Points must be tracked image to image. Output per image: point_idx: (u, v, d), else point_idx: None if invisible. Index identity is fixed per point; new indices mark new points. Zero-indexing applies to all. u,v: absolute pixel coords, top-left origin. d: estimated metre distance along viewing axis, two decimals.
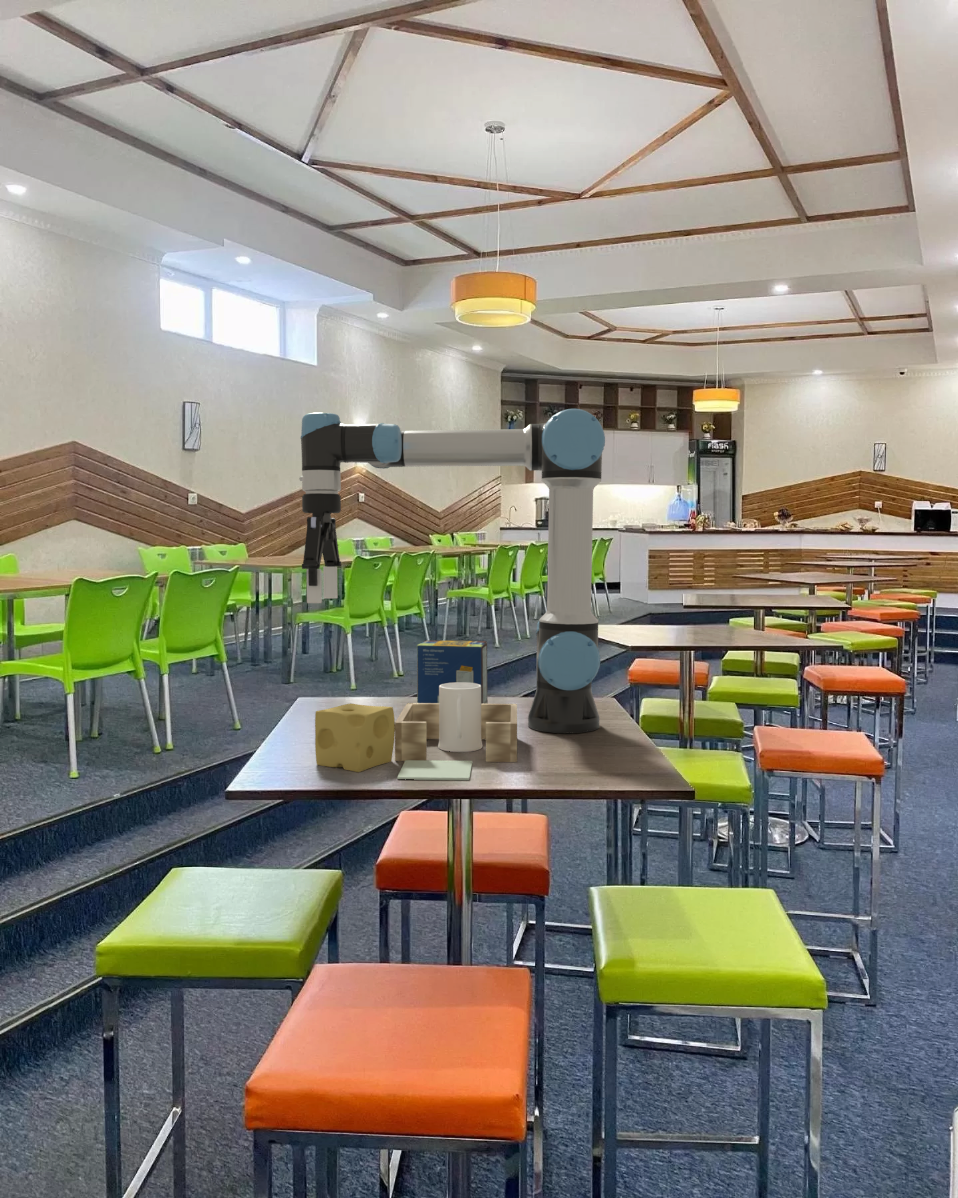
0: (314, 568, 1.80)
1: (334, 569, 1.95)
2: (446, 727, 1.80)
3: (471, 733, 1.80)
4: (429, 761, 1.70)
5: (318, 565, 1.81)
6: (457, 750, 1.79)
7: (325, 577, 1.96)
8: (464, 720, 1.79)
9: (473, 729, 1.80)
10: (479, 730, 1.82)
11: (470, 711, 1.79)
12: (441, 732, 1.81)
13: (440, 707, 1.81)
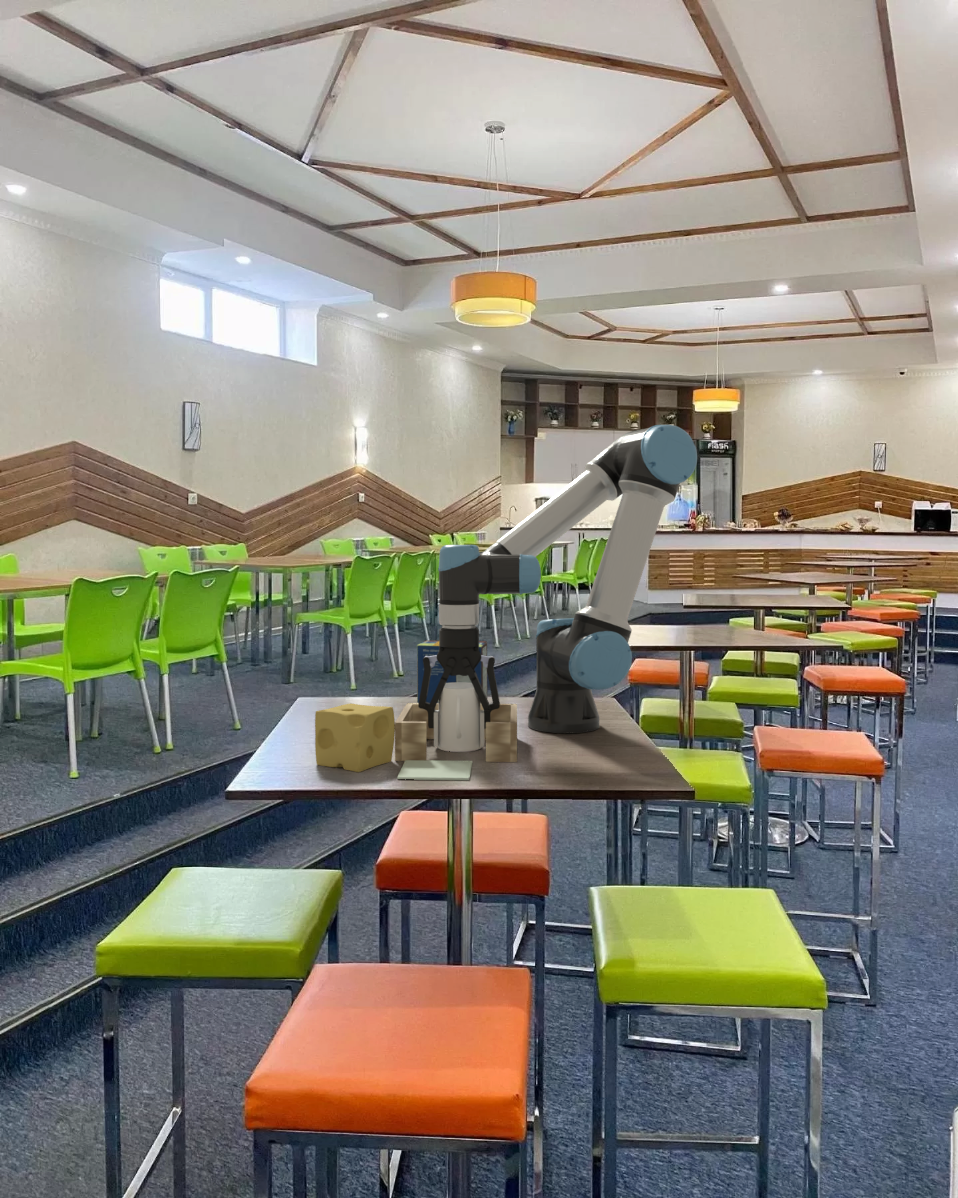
0: (427, 710, 1.81)
1: (480, 715, 1.80)
2: (445, 727, 1.80)
3: (471, 733, 1.80)
4: (429, 761, 1.70)
5: (428, 709, 1.80)
6: (456, 750, 1.79)
7: None
8: (463, 720, 1.79)
9: (472, 729, 1.80)
10: (478, 730, 1.82)
11: (469, 711, 1.79)
12: (440, 732, 1.81)
13: (439, 707, 1.81)
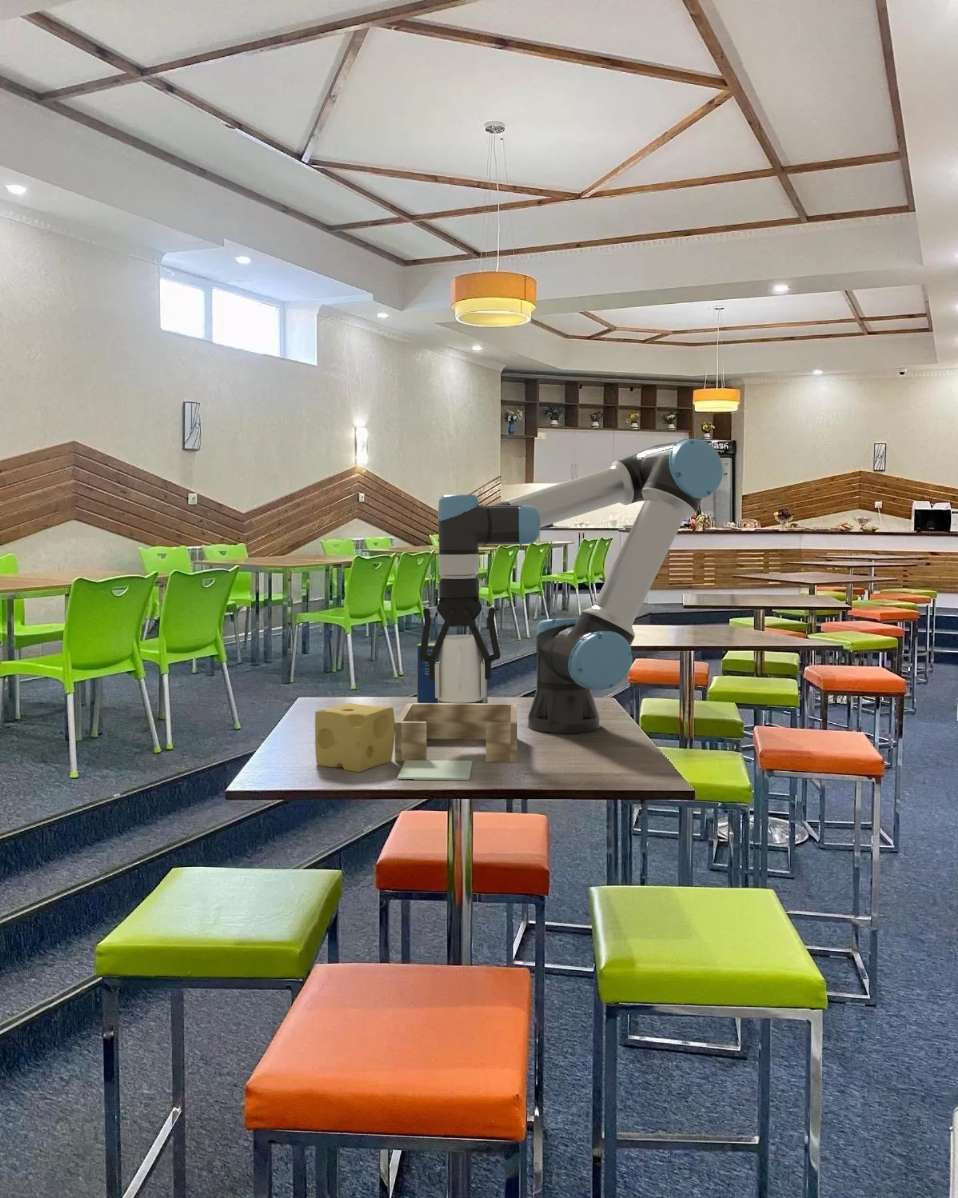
0: (428, 662, 1.80)
1: None
2: (446, 678, 1.79)
3: (472, 684, 1.79)
4: (429, 761, 1.70)
5: (429, 660, 1.80)
6: (457, 701, 1.79)
7: None
8: (464, 670, 1.78)
9: (473, 679, 1.79)
10: (479, 681, 1.81)
11: (470, 661, 1.79)
12: (441, 683, 1.81)
13: (440, 658, 1.81)
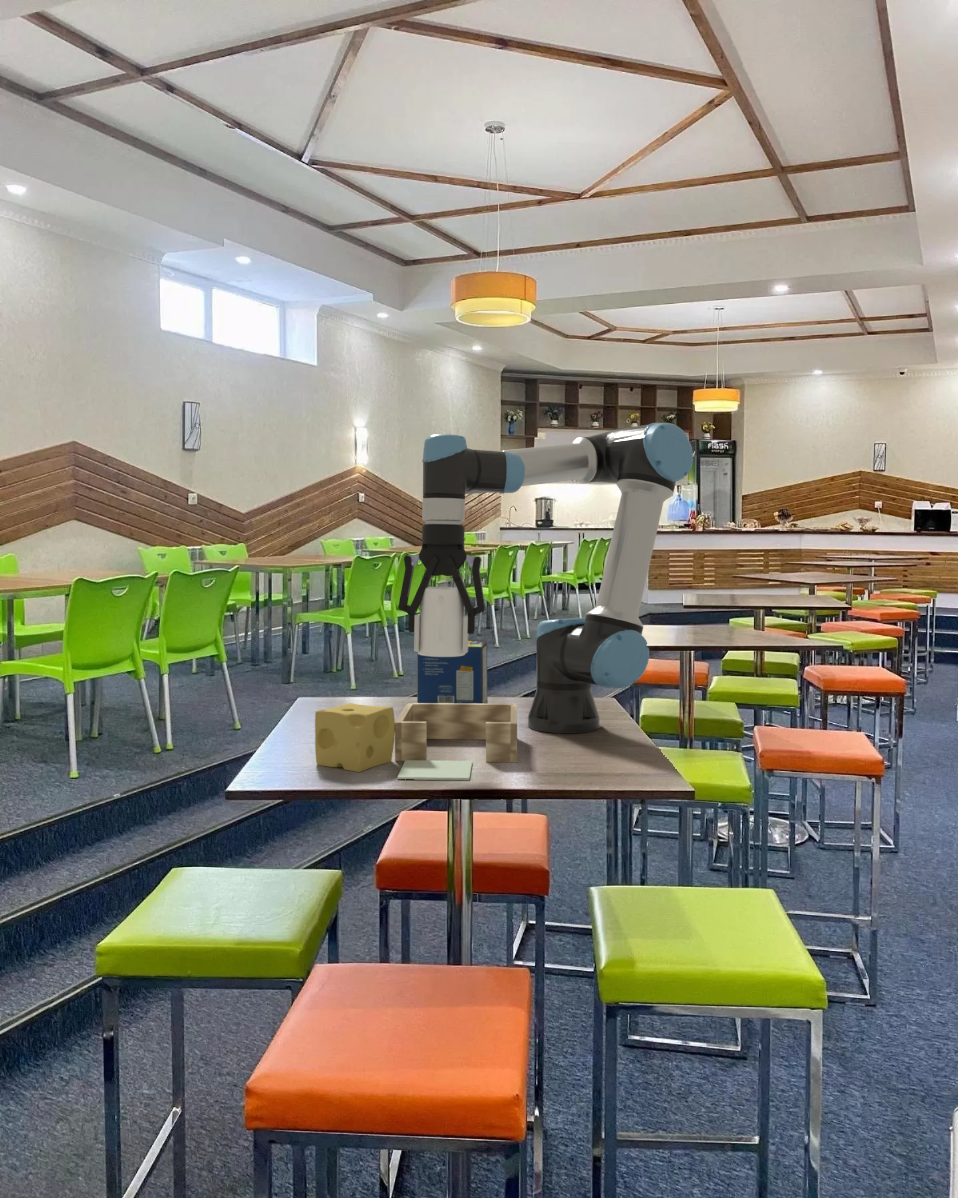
0: None
1: None
2: (426, 630, 1.68)
3: (453, 637, 1.68)
4: (429, 761, 1.70)
5: (409, 611, 1.69)
6: (437, 654, 1.67)
7: None
8: (445, 622, 1.67)
9: (455, 633, 1.68)
10: (462, 635, 1.70)
11: (452, 613, 1.68)
12: (421, 636, 1.70)
13: (421, 610, 1.70)
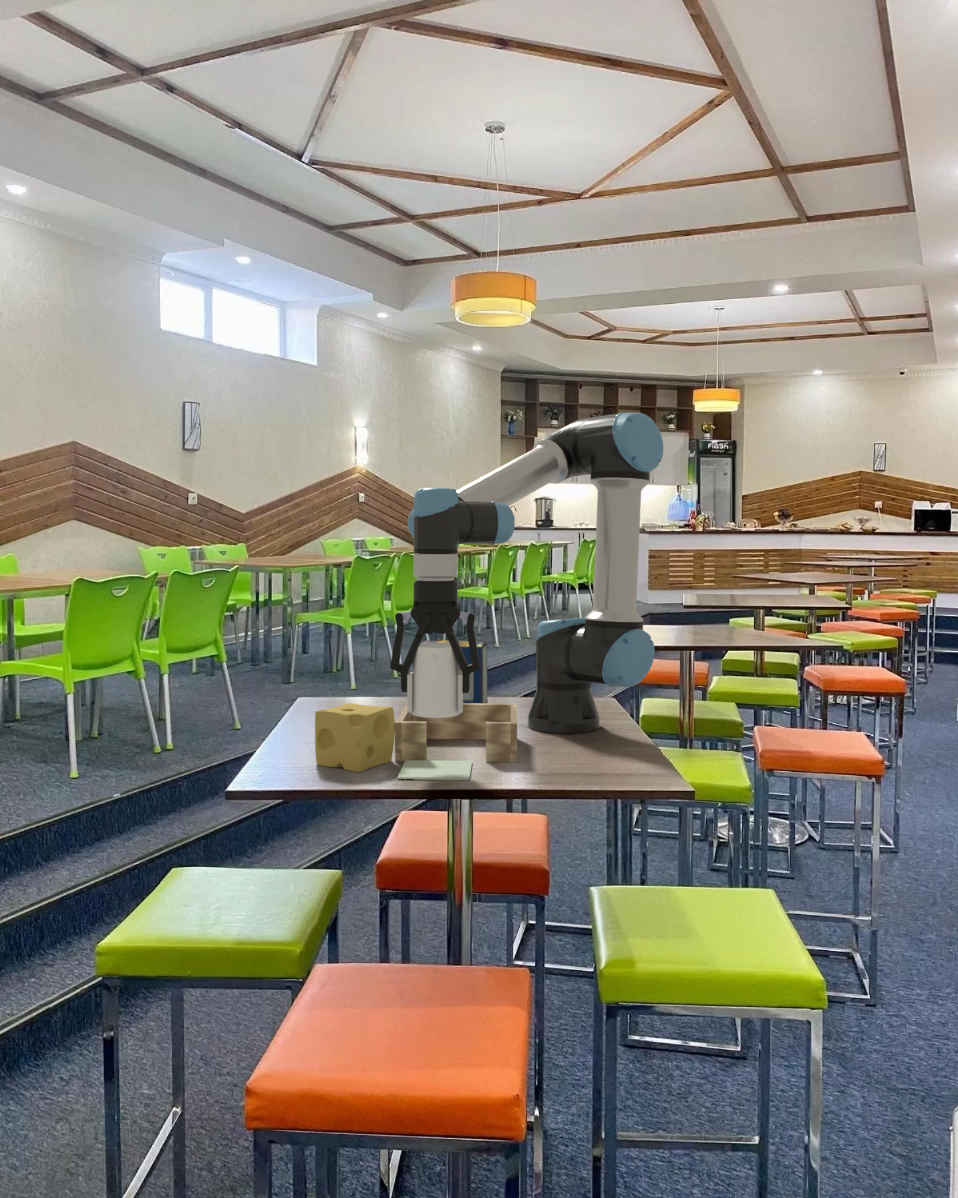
0: (400, 672, 1.63)
1: (458, 678, 1.63)
2: (420, 690, 1.62)
3: (448, 697, 1.62)
4: (429, 761, 1.70)
5: (401, 670, 1.63)
6: (431, 715, 1.62)
7: None
8: (439, 682, 1.62)
9: (449, 692, 1.62)
10: (456, 694, 1.64)
11: (446, 672, 1.62)
12: (414, 696, 1.64)
13: (413, 668, 1.64)
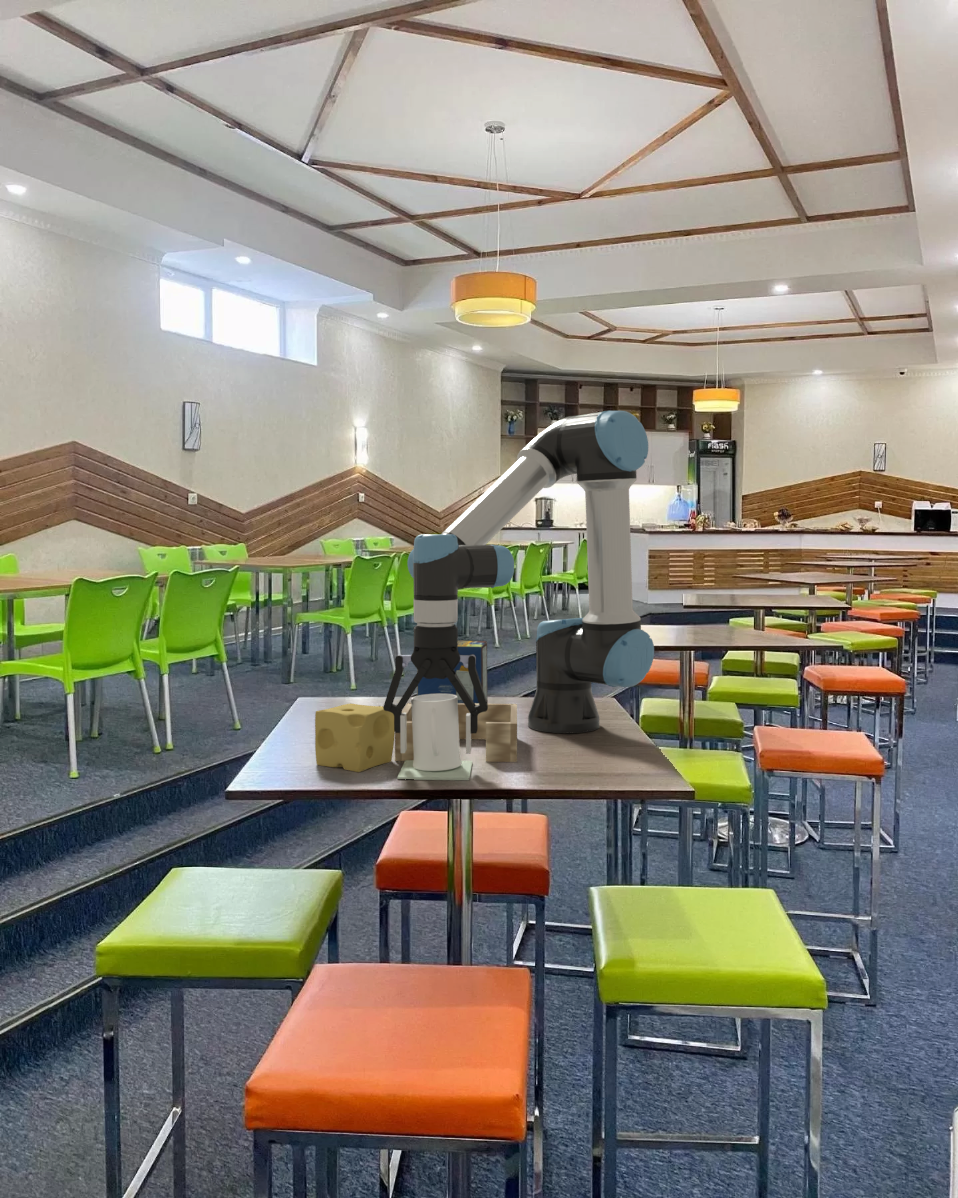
0: (393, 713, 1.64)
1: (466, 719, 1.63)
2: (420, 744, 1.63)
3: (449, 749, 1.63)
4: None
5: (394, 711, 1.63)
6: (434, 769, 1.62)
7: None
8: (440, 735, 1.62)
9: (450, 744, 1.63)
10: (457, 745, 1.65)
11: (446, 725, 1.63)
12: (415, 750, 1.64)
13: (413, 722, 1.65)
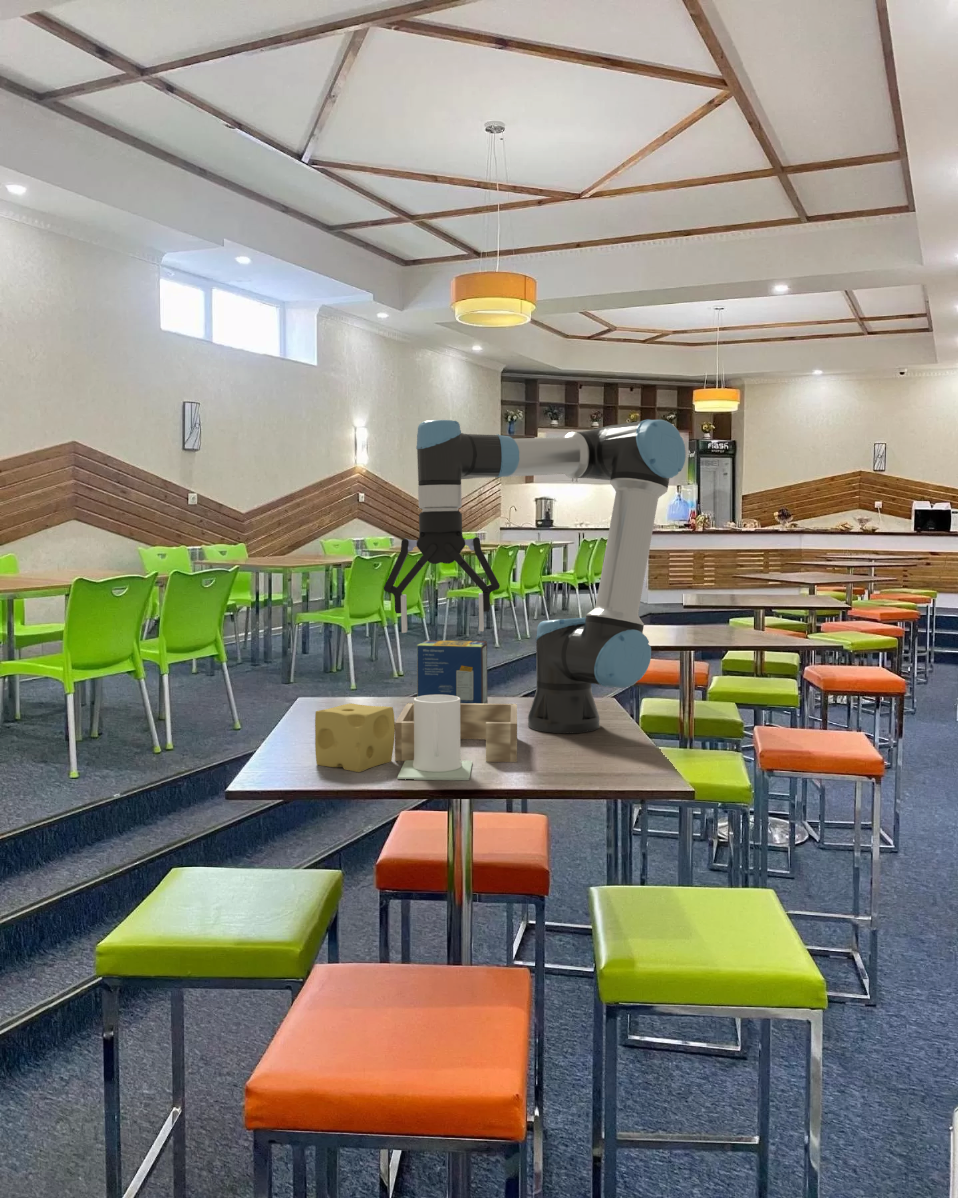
0: (393, 594, 1.67)
1: None
2: (422, 744, 1.63)
3: (450, 751, 1.63)
4: None
5: (395, 591, 1.67)
6: (434, 770, 1.62)
7: None
8: (441, 737, 1.62)
9: (451, 746, 1.63)
10: (458, 747, 1.65)
11: (448, 727, 1.63)
12: (416, 750, 1.64)
13: (415, 722, 1.65)
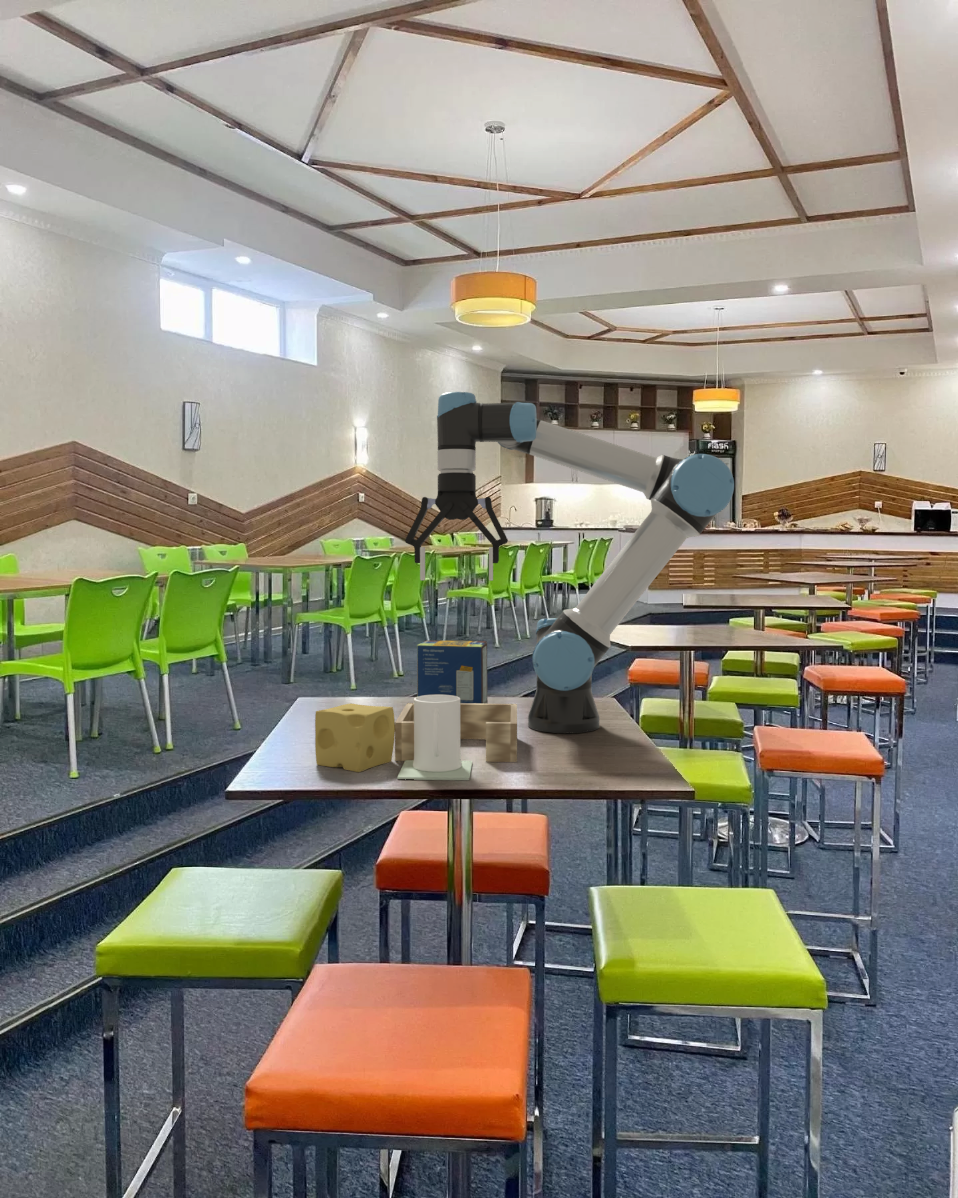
0: None
1: (489, 550, 1.88)
2: (422, 744, 1.63)
3: (450, 751, 1.63)
4: None
5: (415, 543, 1.88)
6: (434, 770, 1.62)
7: None
8: (441, 737, 1.62)
9: (451, 746, 1.63)
10: (458, 747, 1.65)
11: (448, 727, 1.63)
12: (416, 750, 1.64)
13: (415, 722, 1.65)
